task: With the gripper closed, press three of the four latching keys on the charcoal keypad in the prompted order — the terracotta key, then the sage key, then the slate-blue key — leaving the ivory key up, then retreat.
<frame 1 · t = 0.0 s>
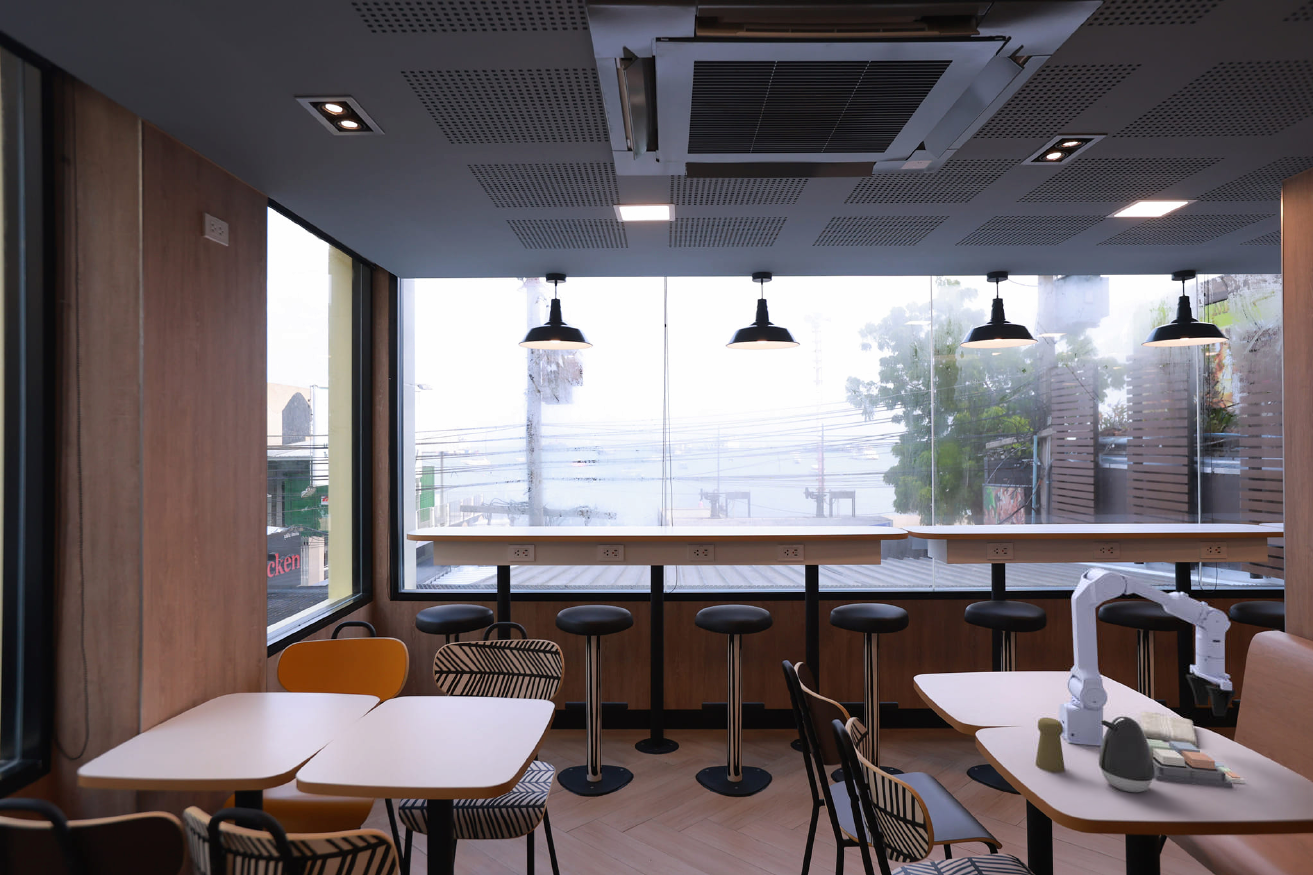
hand: (1210, 710, 175), 10 cm above the table, tool pointing down, fingers open, 7 cm apart
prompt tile: (1225, 773, 162), on the table
cork: (1050, 767, 164), on the table
ivory key: (1168, 757, 162), point 4 cm above the table, slide at 0.0 cm
sage key: (1155, 746, 167), point 4 cm above the table, slide at 0.0 cm
pump dispenser: (1125, 787, 154), on the table
keypad base: (1176, 769, 164), on the table
terracotta key: (1198, 759, 160), point 4 cm above the table, slide at 0.0 cm
slate key: (1184, 749, 166), point 4 cm above the table, slide at 0.0 cm
washcloth: (1167, 734, 187), on the table
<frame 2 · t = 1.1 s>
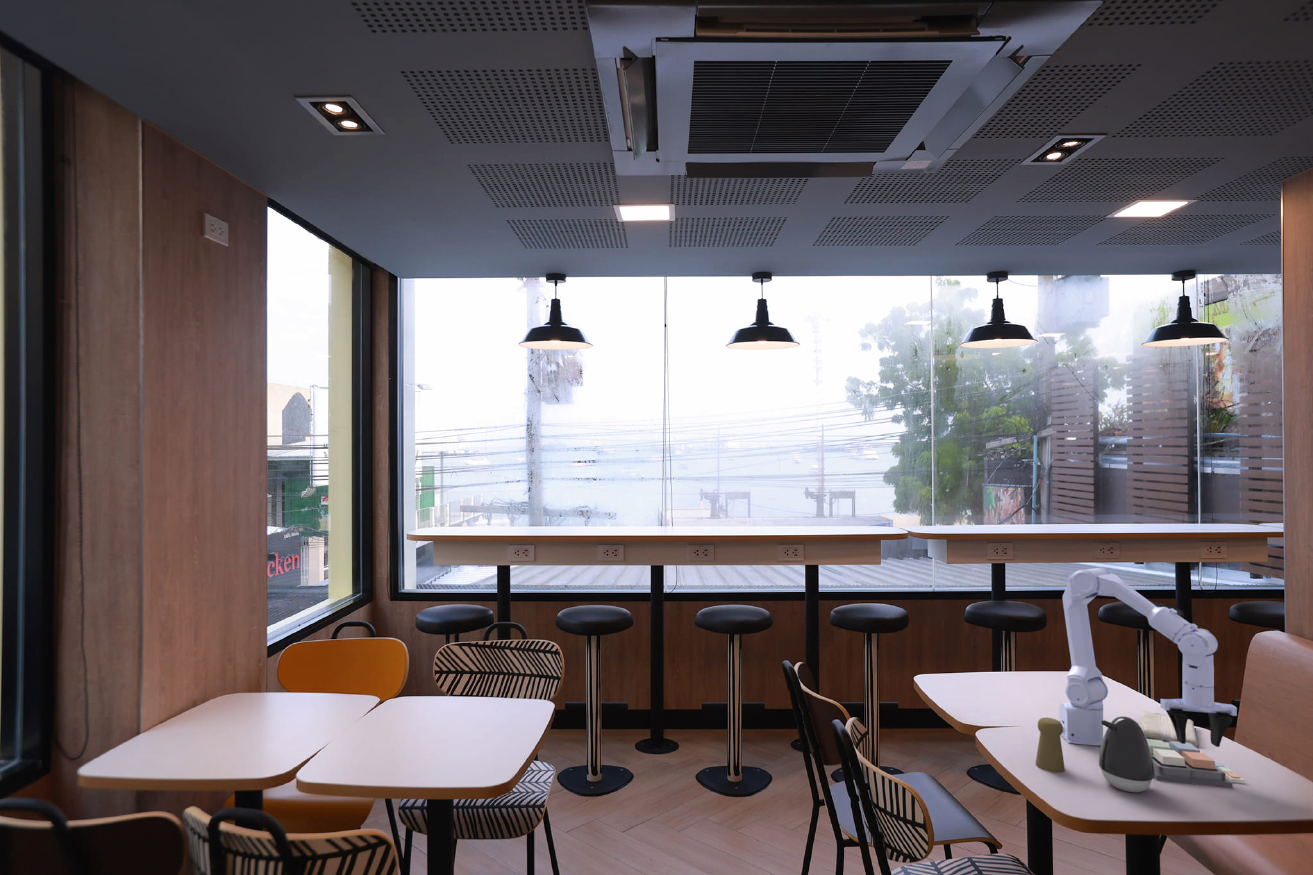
hand: (1198, 743, 160), 7 cm above the table, tool pointing down, fingers open, 6 cm apart
nothing on the table moved.
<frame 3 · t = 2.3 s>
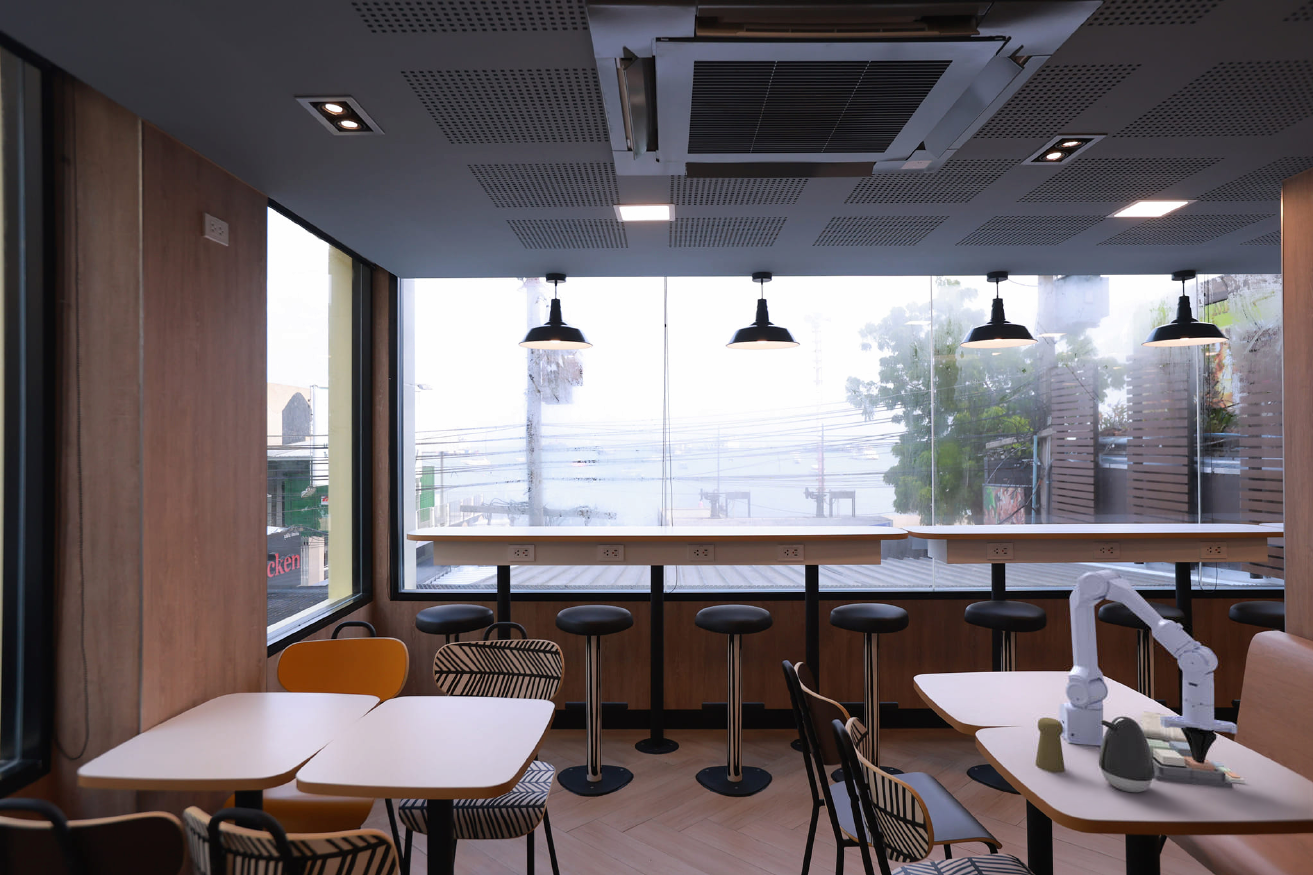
hand: (1198, 761, 160), 3 cm above the table, tool pointing down, fingers closed, pressing on terracotta key
terracotta key: (1198, 764, 160), point 3 cm above the table, slide at 1.1 cm, touching gripper
everything else where it was.
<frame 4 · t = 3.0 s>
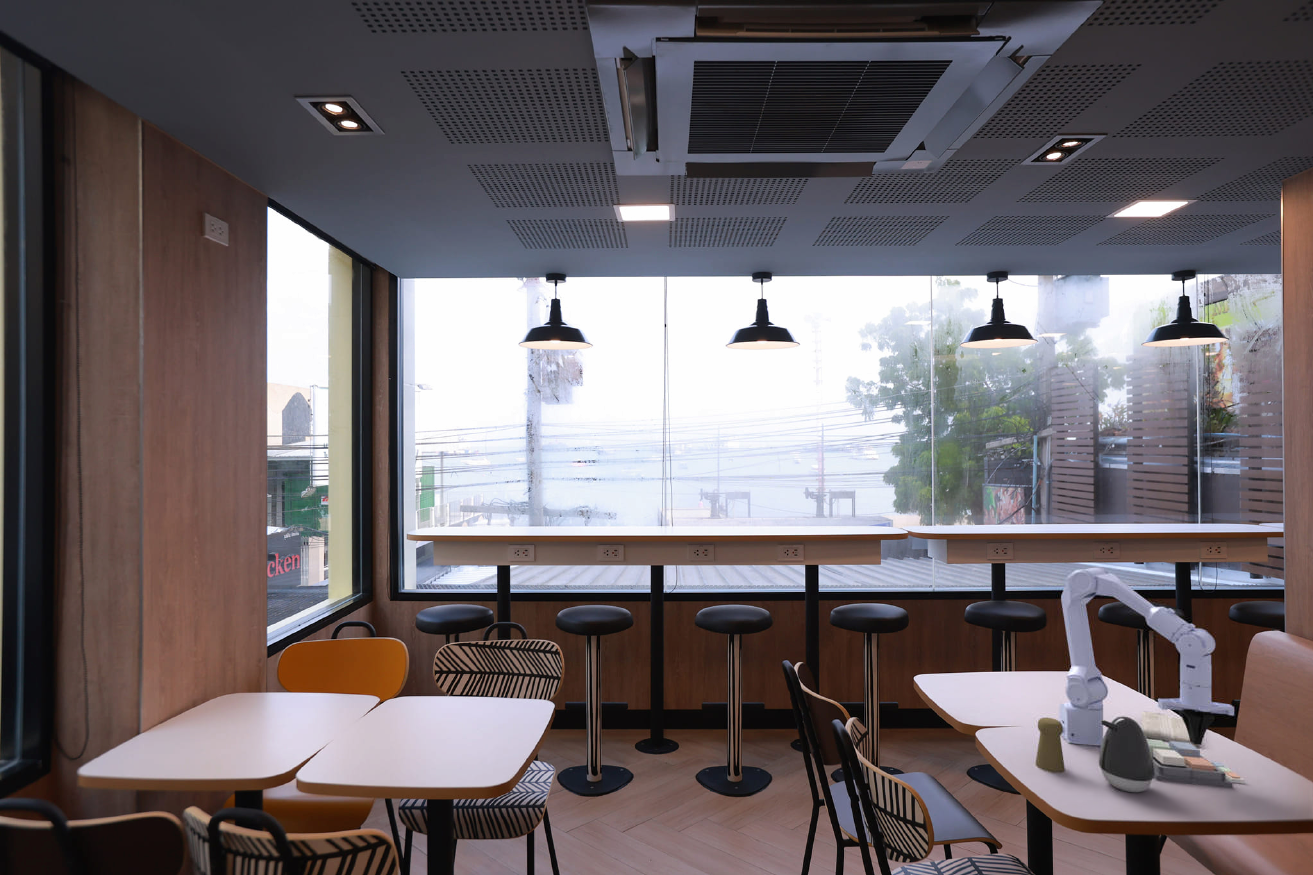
hand: (1195, 743, 161), 7 cm above the table, tool pointing down, fingers closed
terracotta key: (1198, 764, 160), point 3 cm above the table, slide at 1.1 cm
everything else where it was.
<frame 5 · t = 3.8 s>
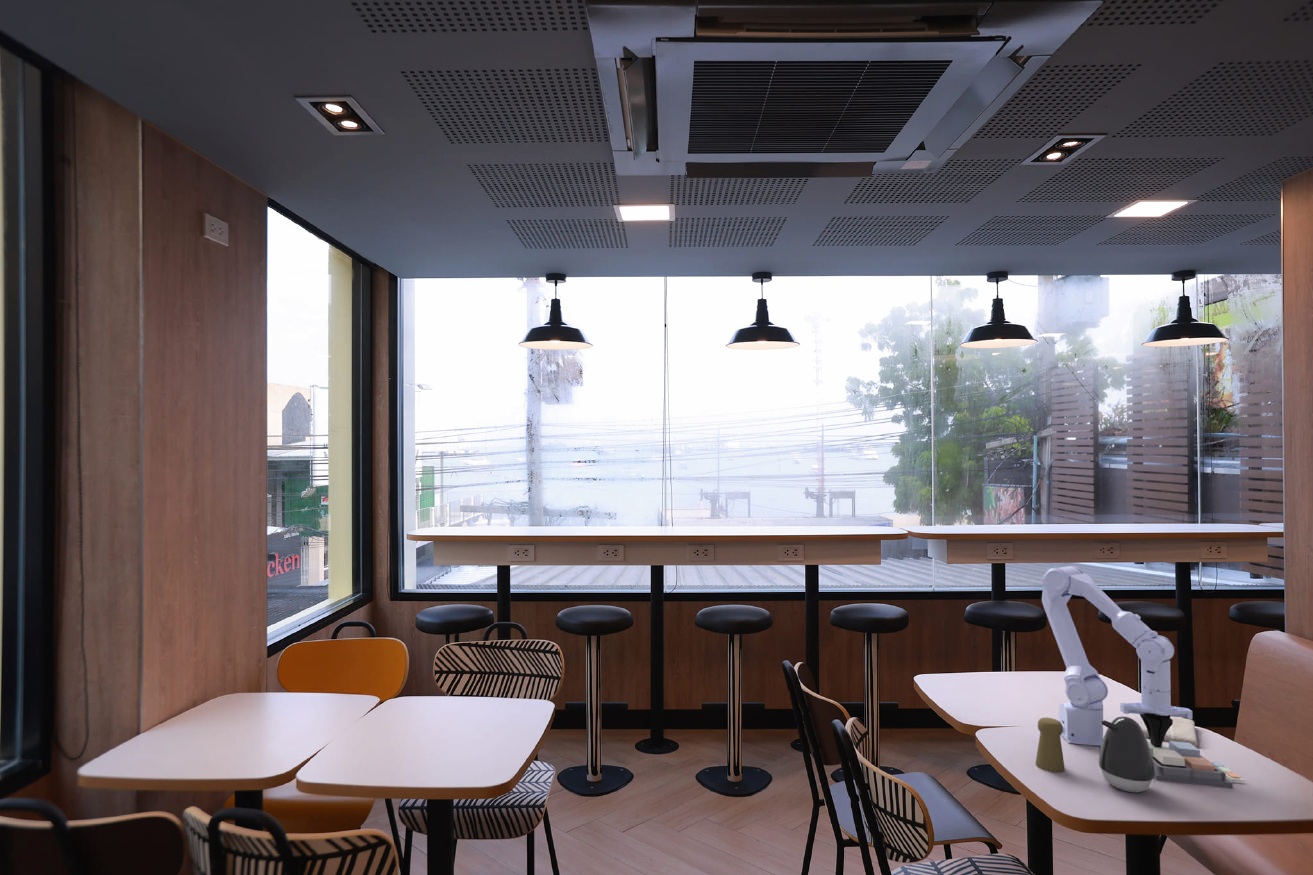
hand: (1156, 745, 167), 4 cm above the table, tool pointing down, fingers closed, pressing on sage key
sage key: (1155, 749, 167), point 3 cm above the table, slide at 0.6 cm, touching gripper
everything else where it was.
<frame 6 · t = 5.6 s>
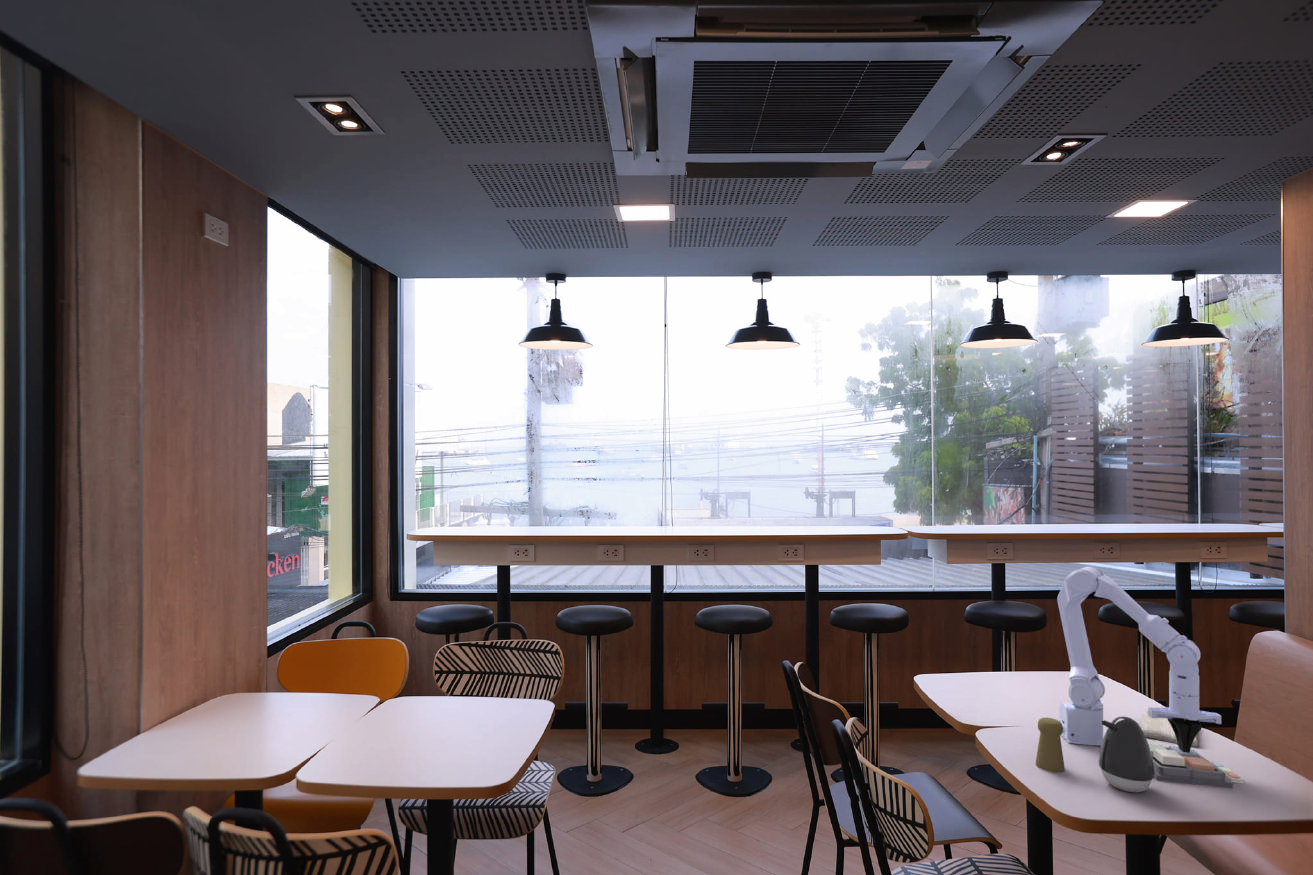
hand: (1184, 750, 166), 3 cm above the table, tool pointing down, fingers closed, pressing on slate key
sage key: (1155, 751, 167), point 3 cm above the table, slide at 1.1 cm
slate key: (1184, 754, 166), point 3 cm above the table, slide at 1.1 cm, touching gripper
everything else where it was.
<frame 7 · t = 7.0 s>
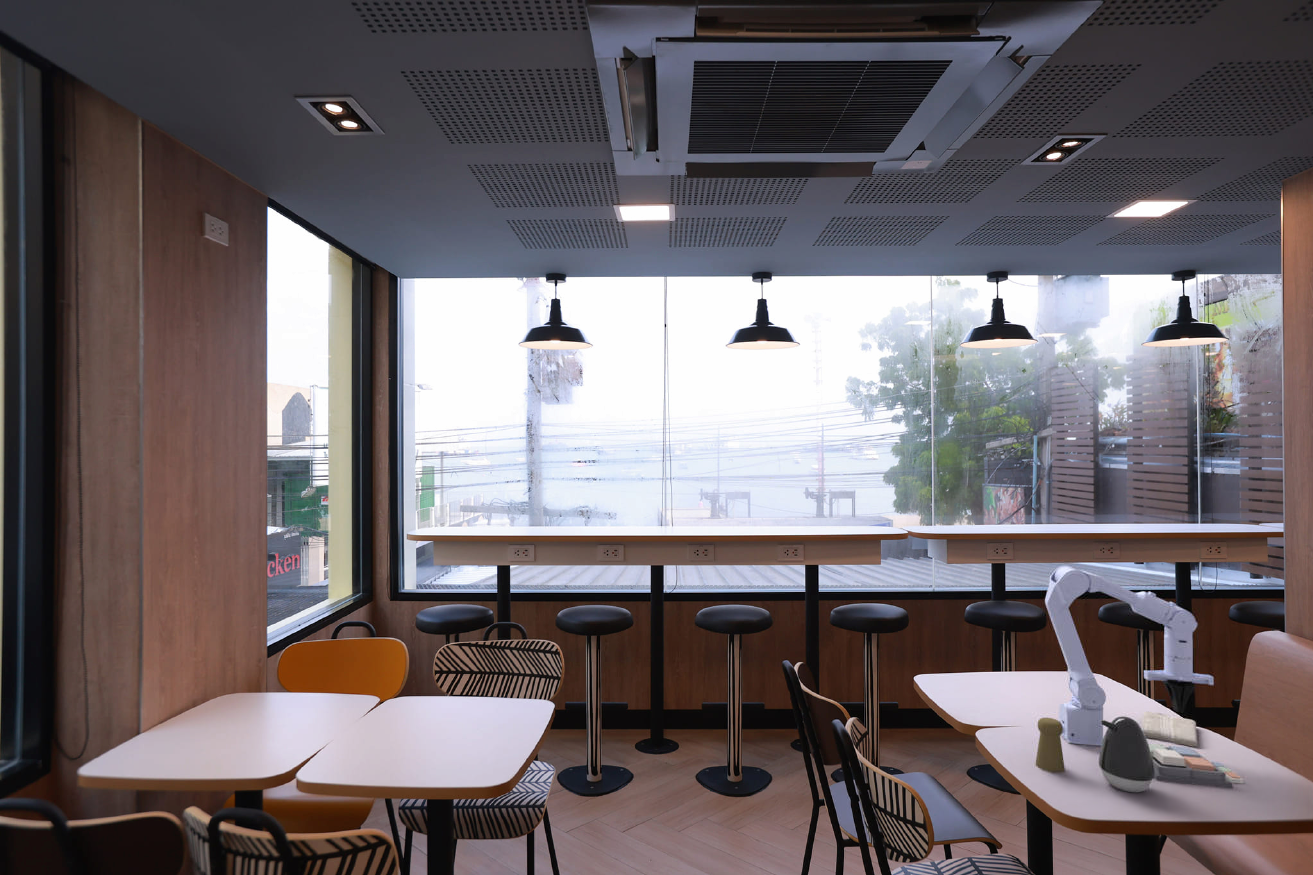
hand: (1178, 710, 175), 10 cm above the table, tool pointing down, fingers closed
slate key: (1184, 754, 166), point 3 cm above the table, slide at 1.1 cm
everything else where it was.
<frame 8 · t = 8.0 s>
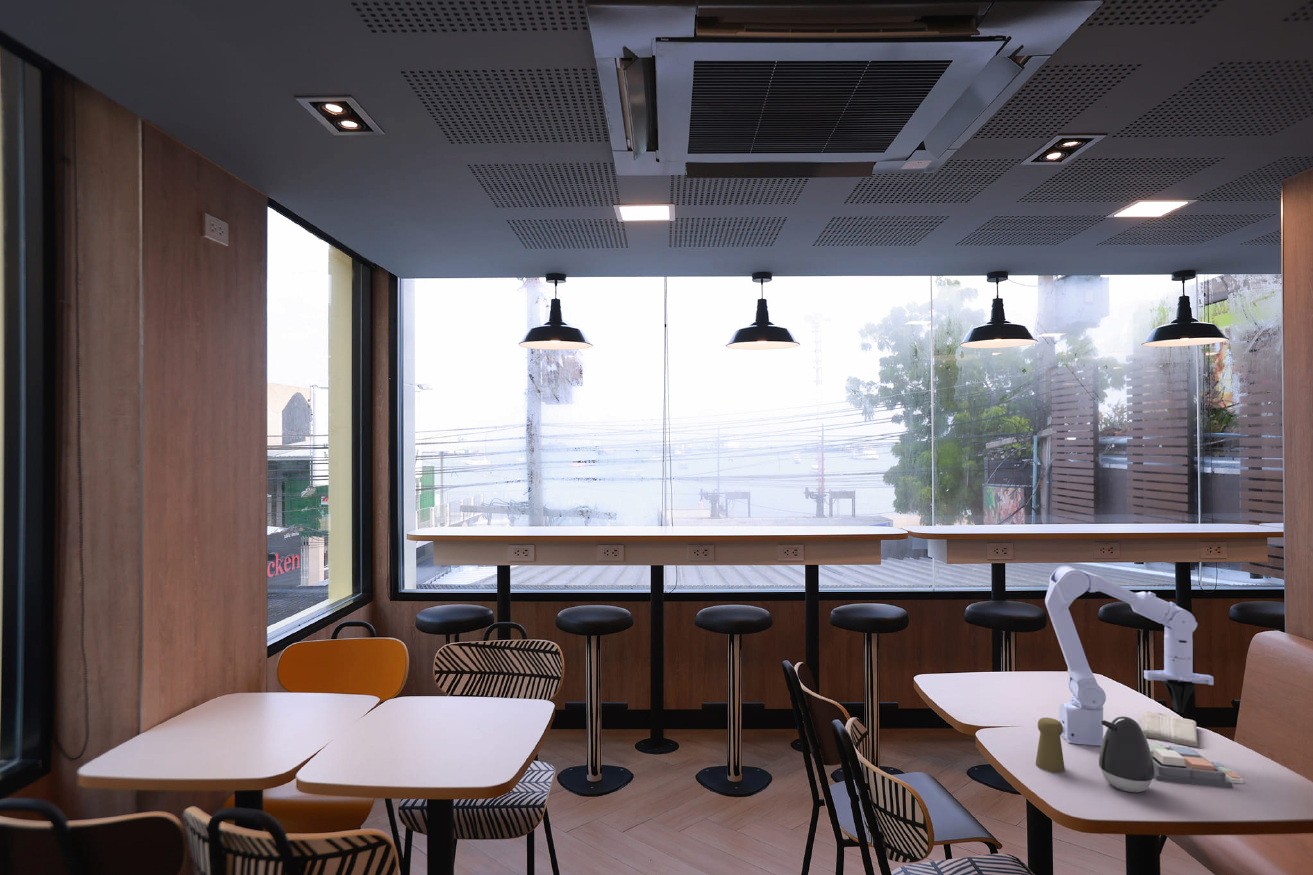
hand: (1178, 710, 175), 10 cm above the table, tool pointing down, fingers closed
nothing on the table moved.
at the end: terracotta key slide at 1.1 cm; sage key slide at 1.1 cm; slate key slide at 1.1 cm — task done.
